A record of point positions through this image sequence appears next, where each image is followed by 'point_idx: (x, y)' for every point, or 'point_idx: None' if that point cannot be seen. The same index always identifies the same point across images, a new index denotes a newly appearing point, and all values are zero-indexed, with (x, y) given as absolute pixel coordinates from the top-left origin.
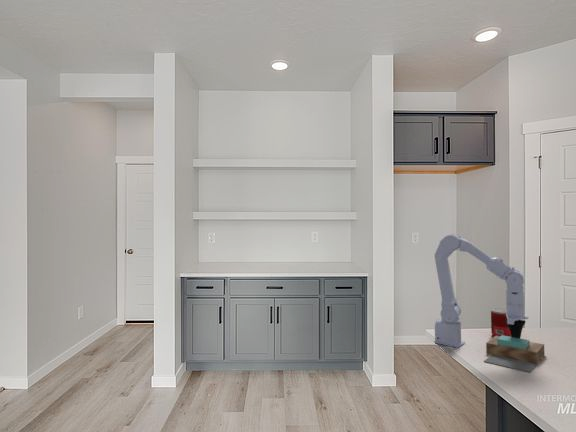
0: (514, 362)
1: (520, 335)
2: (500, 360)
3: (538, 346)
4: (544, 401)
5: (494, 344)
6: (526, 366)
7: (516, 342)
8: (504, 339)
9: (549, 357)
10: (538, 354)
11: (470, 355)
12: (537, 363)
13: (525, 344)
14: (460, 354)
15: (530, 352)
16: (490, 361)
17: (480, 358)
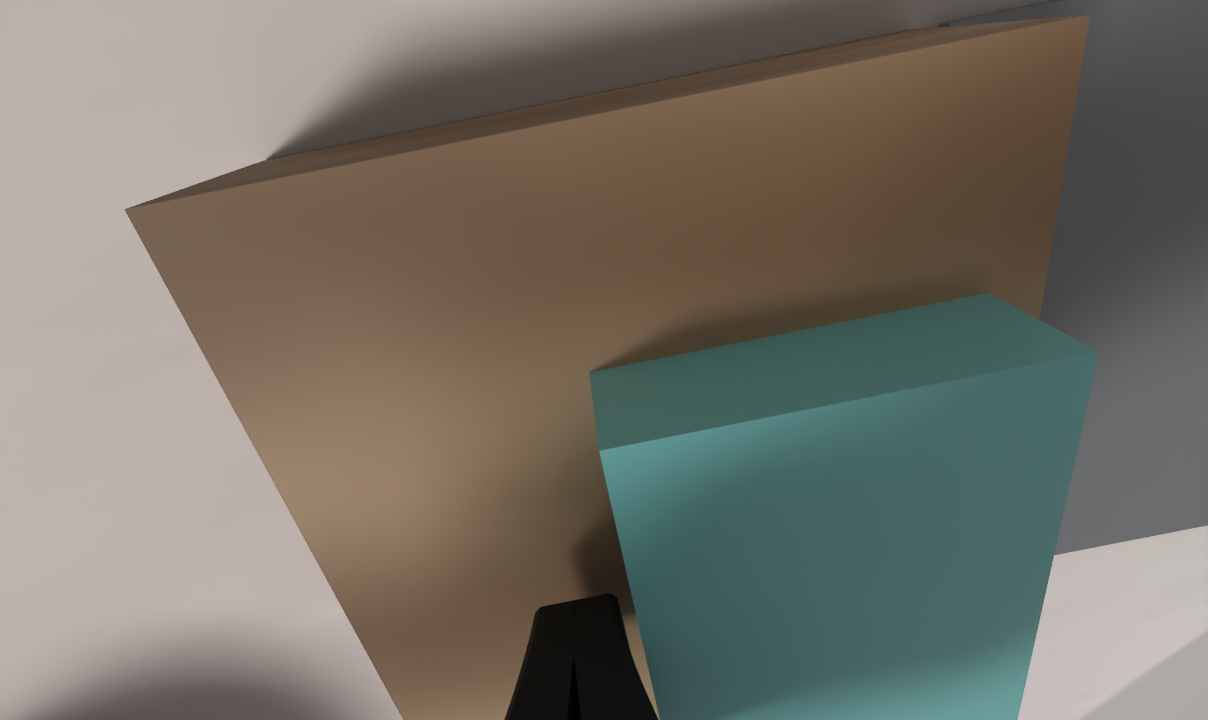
0: (1081, 291)
1: (564, 696)
2: (1093, 433)
3: (471, 222)
4: None
5: None
6: (1190, 87)
7: (1058, 526)
8: (966, 717)
9: (288, 42)
10: (823, 60)
11: (1052, 665)
12: (868, 38)
13: (1083, 347)
14: (1076, 714)
15: (1050, 161)
16: (1201, 478)
17: (1098, 581)
